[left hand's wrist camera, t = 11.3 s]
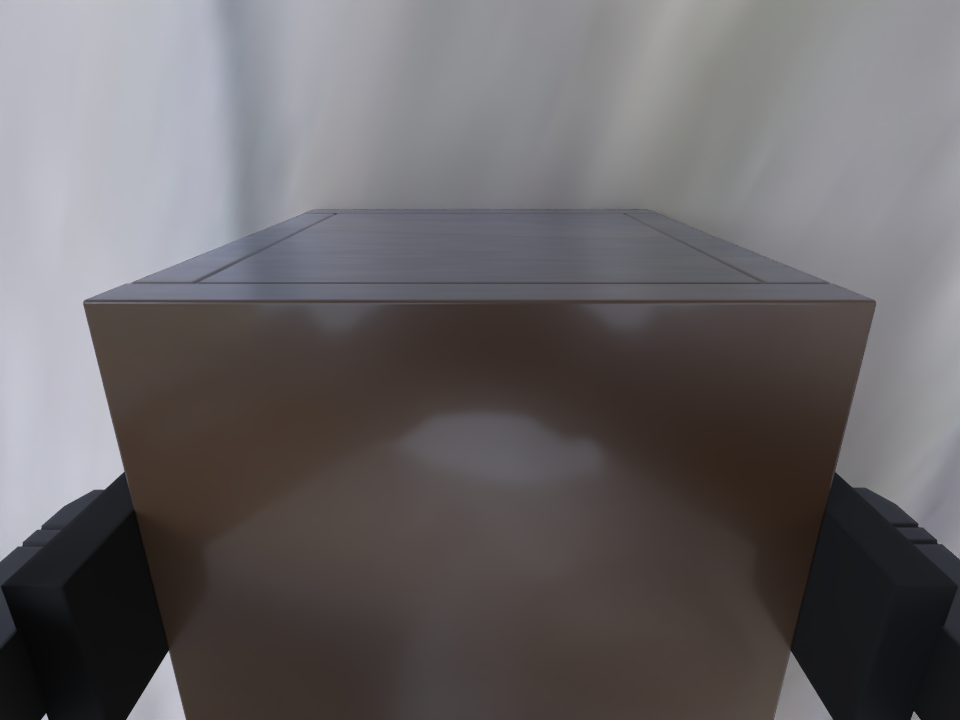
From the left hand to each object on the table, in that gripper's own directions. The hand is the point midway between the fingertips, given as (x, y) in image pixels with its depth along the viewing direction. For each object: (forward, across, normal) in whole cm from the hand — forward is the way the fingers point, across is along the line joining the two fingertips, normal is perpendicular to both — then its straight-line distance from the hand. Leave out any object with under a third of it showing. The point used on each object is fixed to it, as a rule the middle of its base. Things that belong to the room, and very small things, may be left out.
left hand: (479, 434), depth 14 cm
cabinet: (+6, 0, +5) cm, 8 cm away
